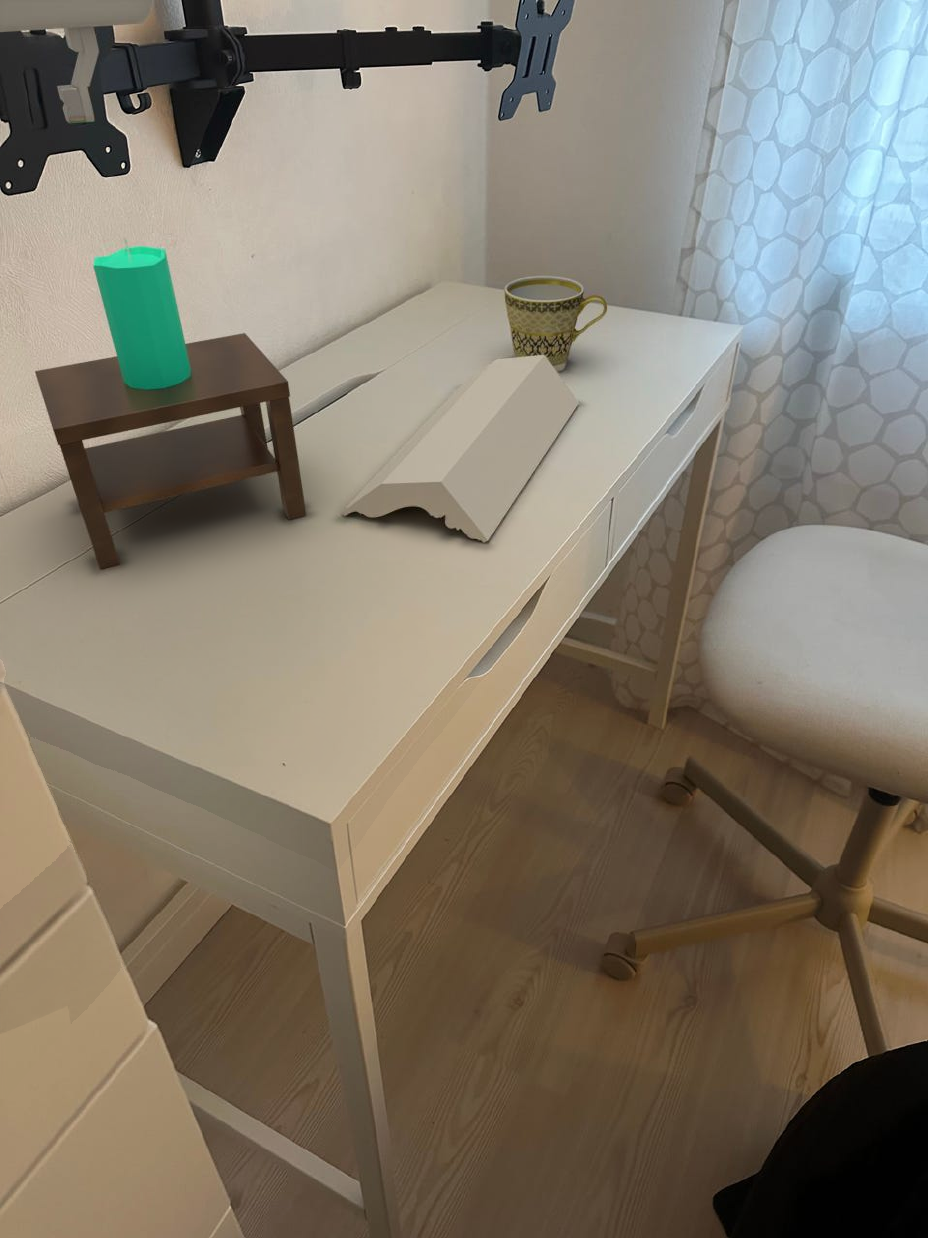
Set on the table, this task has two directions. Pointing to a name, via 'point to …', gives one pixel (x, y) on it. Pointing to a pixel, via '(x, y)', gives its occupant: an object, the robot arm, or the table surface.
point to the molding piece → (476, 448)
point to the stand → (171, 432)
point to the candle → (143, 317)
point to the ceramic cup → (546, 316)
